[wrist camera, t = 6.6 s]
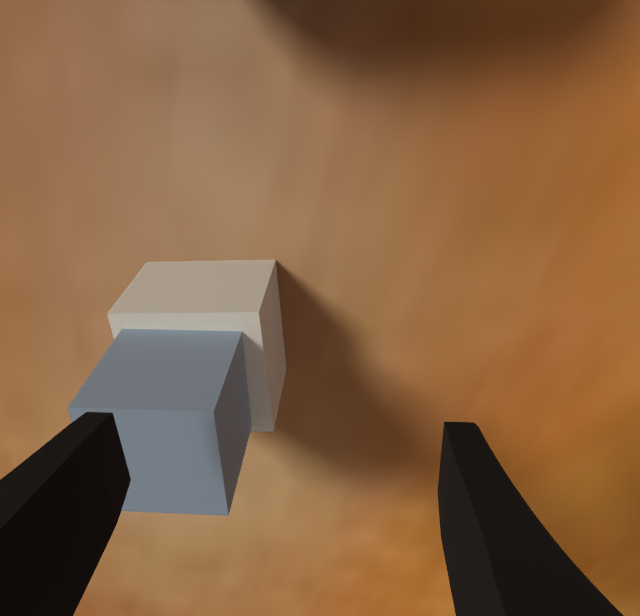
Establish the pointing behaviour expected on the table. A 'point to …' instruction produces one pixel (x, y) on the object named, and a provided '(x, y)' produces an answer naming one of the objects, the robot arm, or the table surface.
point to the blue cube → (175, 416)
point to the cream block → (216, 316)
